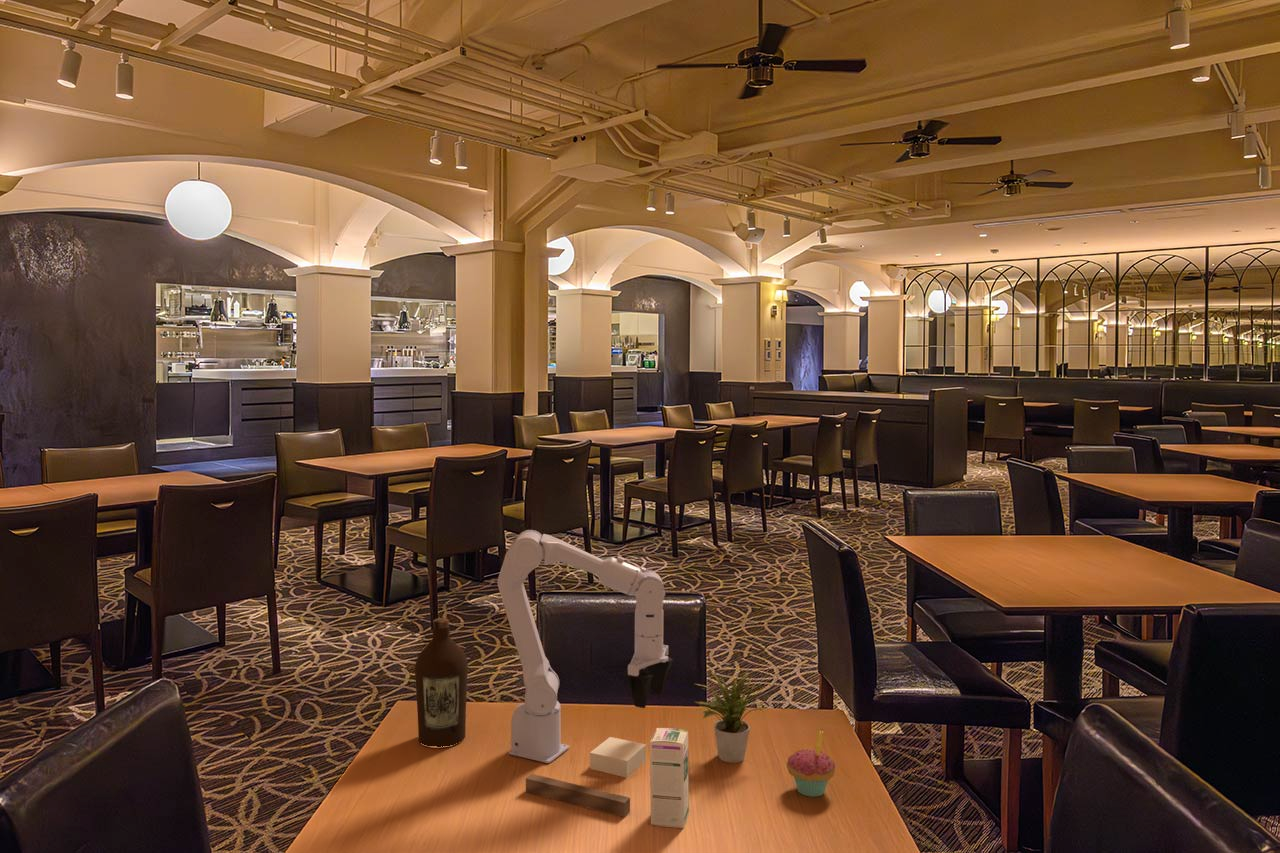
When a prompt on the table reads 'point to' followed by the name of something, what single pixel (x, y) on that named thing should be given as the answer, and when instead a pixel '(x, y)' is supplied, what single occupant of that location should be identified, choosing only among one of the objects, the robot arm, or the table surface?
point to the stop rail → (578, 795)
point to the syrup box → (669, 777)
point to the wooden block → (618, 757)
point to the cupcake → (811, 770)
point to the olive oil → (441, 689)
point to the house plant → (730, 720)
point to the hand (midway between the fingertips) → (648, 700)
